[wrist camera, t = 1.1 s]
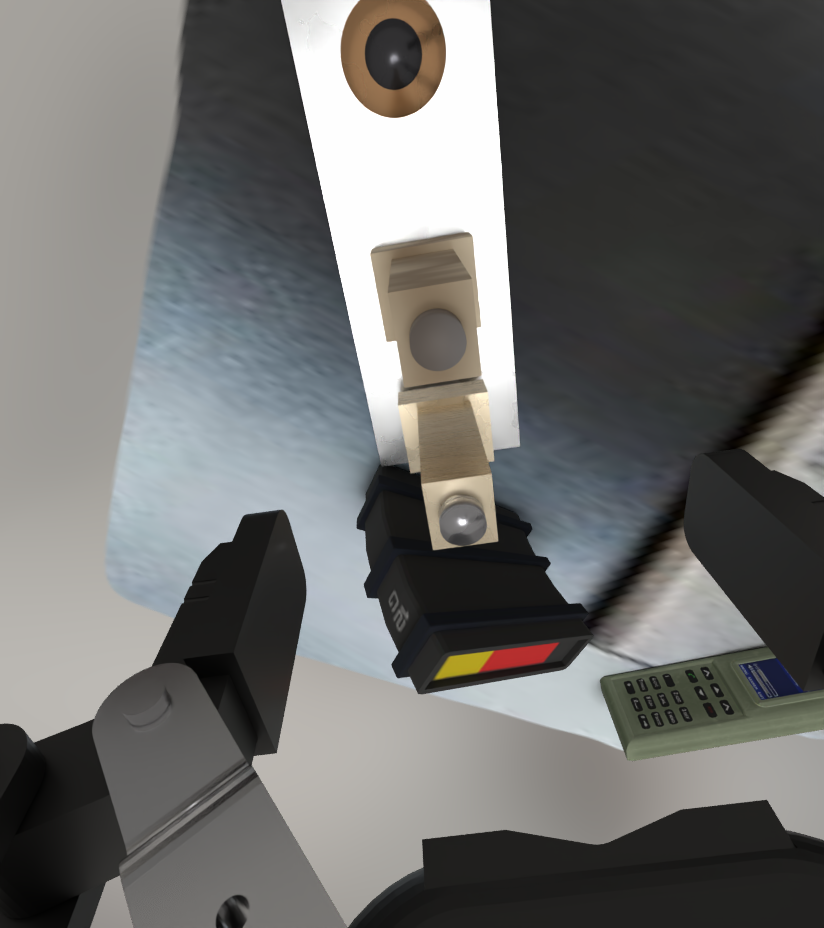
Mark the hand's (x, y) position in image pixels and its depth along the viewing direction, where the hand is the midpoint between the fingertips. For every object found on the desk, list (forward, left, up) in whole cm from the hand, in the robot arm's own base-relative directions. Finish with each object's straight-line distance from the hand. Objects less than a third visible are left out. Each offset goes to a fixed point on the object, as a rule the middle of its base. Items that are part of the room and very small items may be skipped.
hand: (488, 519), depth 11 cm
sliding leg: (0, -1, -21) cm, 21 cm away
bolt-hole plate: (0, -4, -23) cm, 23 cm away
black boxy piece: (0, +15, -23) cm, 27 cm away
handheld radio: (-22, +35, -23) cm, 48 cm away
